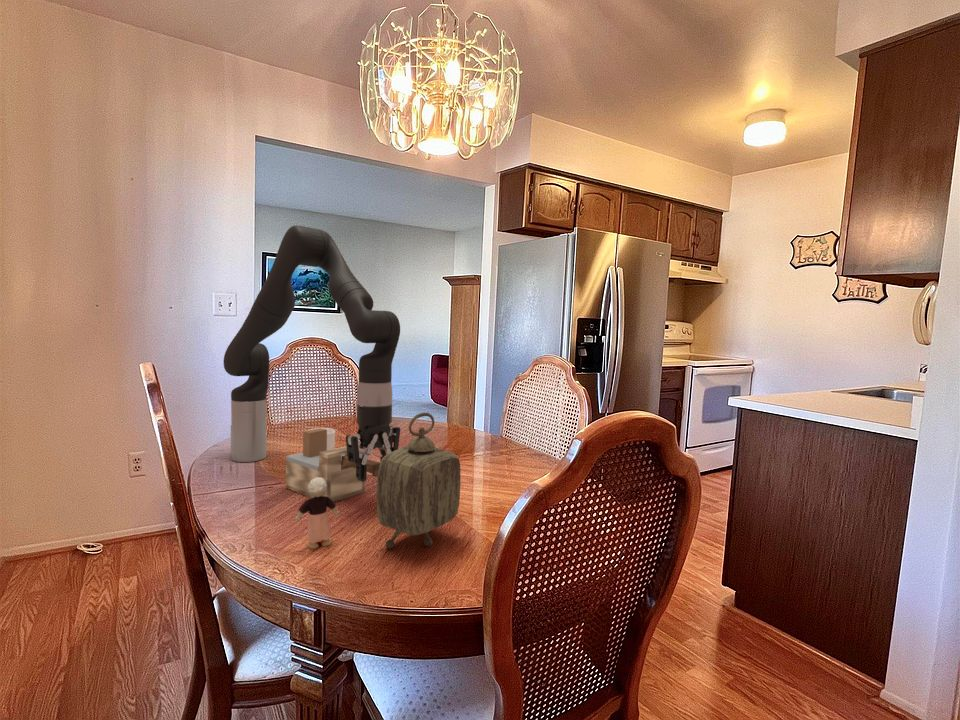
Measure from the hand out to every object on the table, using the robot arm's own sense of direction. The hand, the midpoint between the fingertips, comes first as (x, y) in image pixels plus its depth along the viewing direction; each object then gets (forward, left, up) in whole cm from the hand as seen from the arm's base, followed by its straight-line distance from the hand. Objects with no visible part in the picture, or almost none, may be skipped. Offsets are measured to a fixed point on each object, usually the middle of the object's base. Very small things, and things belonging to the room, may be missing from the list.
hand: (373, 476), depth 113 cm
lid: (-19, 0, 0) cm, 19 cm away
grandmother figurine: (+6, -19, -7) cm, 21 cm away
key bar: (-4, 0, +1) cm, 4 cm away
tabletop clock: (+20, -6, -7) cm, 22 cm away
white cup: (-34, +11, -7) cm, 36 cm away
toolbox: (-17, 0, -7) cm, 18 cm away
